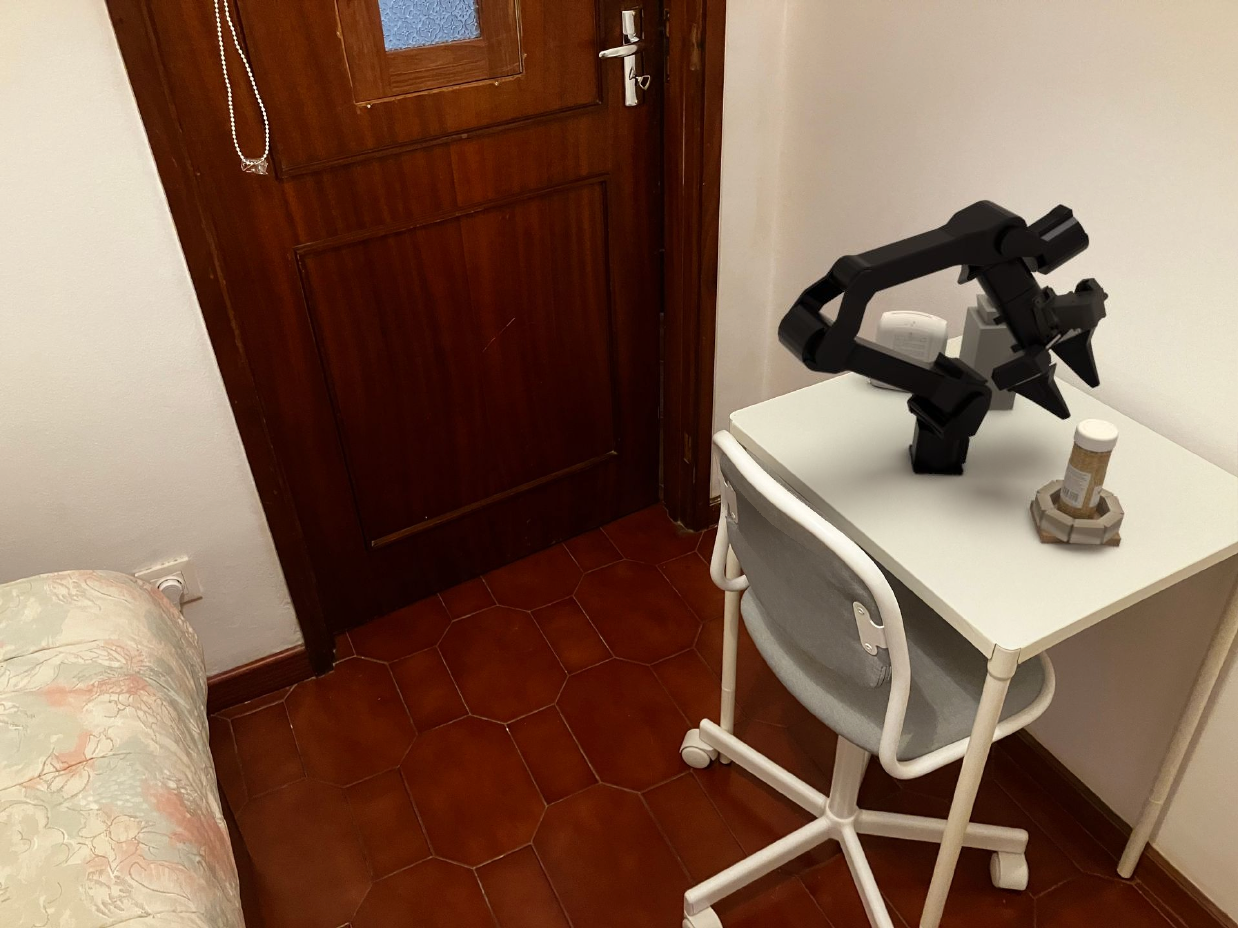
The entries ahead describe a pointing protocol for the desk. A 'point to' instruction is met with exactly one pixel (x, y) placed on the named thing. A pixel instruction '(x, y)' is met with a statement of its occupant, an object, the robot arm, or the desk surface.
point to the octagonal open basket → (1076, 531)
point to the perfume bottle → (987, 348)
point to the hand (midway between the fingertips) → (1081, 402)
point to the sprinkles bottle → (1087, 468)
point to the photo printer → (912, 336)
